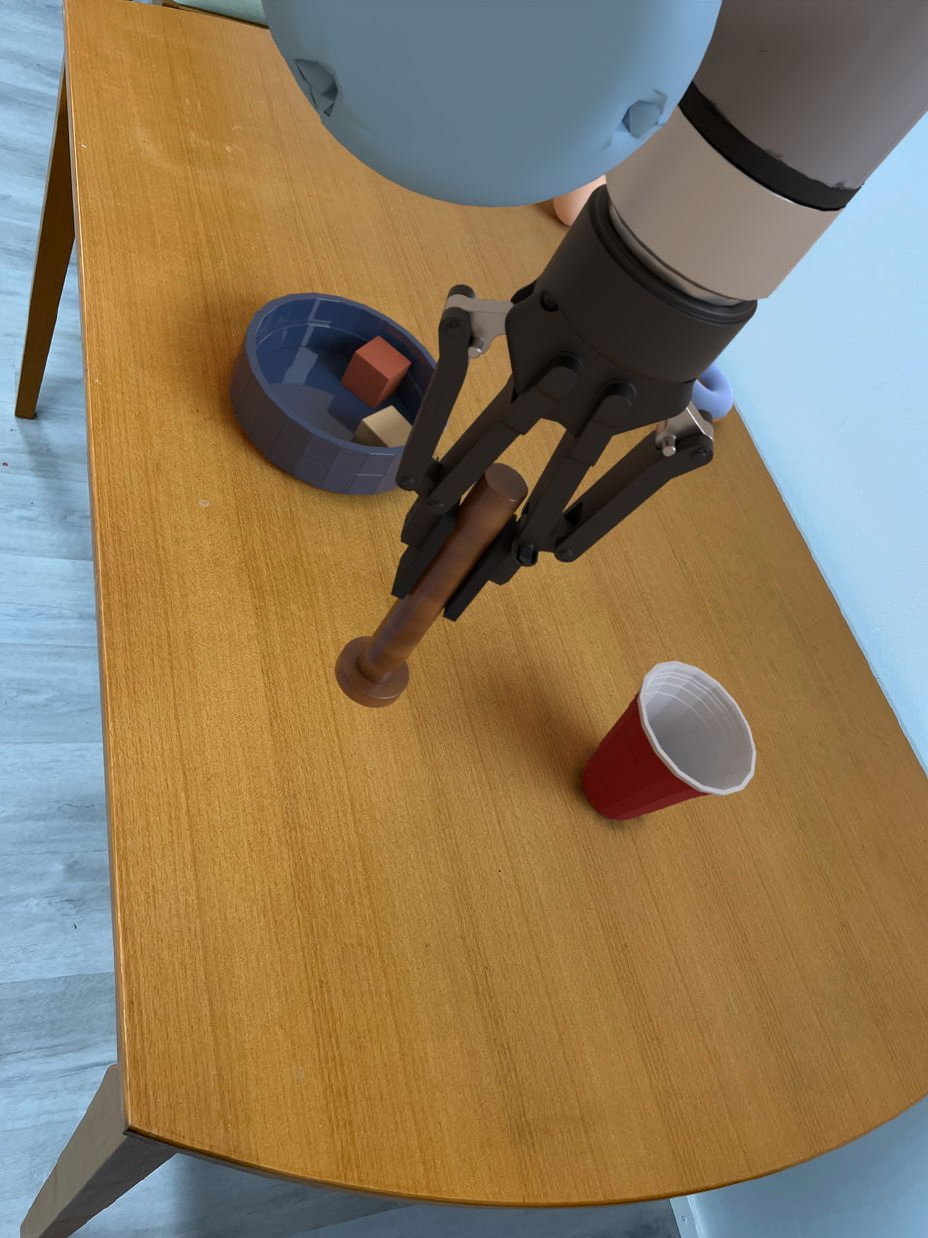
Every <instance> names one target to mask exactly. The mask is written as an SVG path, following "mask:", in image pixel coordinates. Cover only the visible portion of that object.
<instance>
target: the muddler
mask: <svg viewBox="0 0 928 1238" xmlns="http://www.w3.org/2000/svg"><path fill="white" fill-rule="evenodd" d="M528 494H529V486H528V482H527V481H526V479H525V478H524V476H523V475H522V474H521V473H520V472H519V471H518V470H516V469H515V468H514V467H512V466H510V465H509V464H506V463H502V462H494V463H493V464H492V465H491V466H490V467H489V468H488V469H487V470H486V471H485V472H484V473H483V474H482V476H481V477H480V478H479V479H478V480H477V481H476V482H475V483H474V484H473V485H472V486H471V487H470V488H469V490H468V492H467V494H466V496H464V498H463V500H461V502H460V506H459V508H458V515H457V519H456V524H455V528H454V529H453V531H452V532H451V533H450V535H449V536H448V538H447V539H446V540H445V542H444V543H443V545H442V546H441V547H440V549H439V550H438V552H437V553H436V555H435V556H434V557H433V559H432V560H431V562H430V563H429V564H428V566H427V567H426V569H425V570H424V571H423V573H422V574H421V576H420V577H419V578H418V580H417V581H416V583H415V584H414V586H413V587H412V588H411V590H410V591H409V593H408V594H407V595H406V597H405V598H404V600H402V599H400V598H397V597H396V600H395V601H394V602H393V604H392V606H391V607H390V609H389V610H388V611H387V613H386V614H385V615H384V617H383V619H382V620H381V622H380V623H379V625H378V627H377V628H376V629H375V631H374V632H373V634H372V635H362V636H358V637H355V638H352V639H351V640H350V641H348V642H347V643H346V644H345V646H344V647H343V648H342V650H341V651H340V653H339V655H338V656H337V658H336V660H335V663H334V676H335V680H336V682H337V685H338V687H339V688H340V690H341V691H342V692H343V693H344V695H345V696H346V697H347V698H349V699H350V700H351V701H353V702H354V703H356V704H358V705H360V706H363V707H365V708H372V709H380V708H384V707H388V706H391V705H392V704H394V703H395V702H396V701H397V700H398V699H399V698H400V696H401V695H402V694H403V692H404V691H405V690H406V689H407V686H408V684H409V681H410V667H409V664H408V662H407V659H408V658H409V656H410V655H411V654H412V652H413V651H414V649H415V648H416V647H417V646H418V645H419V643H420V642H421V640H422V639H423V637H424V636H425V635H426V634H427V632H428V630H430V628H431V627H432V625H433V624H434V623H435V622H436V620H437V618H438V617H439V616H440V614H441V613H443V611H444V608H445V606H446V605H447V604H448V602H449V601H450V599H451V598H452V597H453V595H454V594H455V593H456V591H457V590H458V589H459V587H460V586H461V585H462V583H463V582H464V581H465V579H466V578H467V577H468V575H469V574H470V572H471V571H472V570H473V568H474V567H475V566H476V564H477V563H478V562H479V560H480V559H481V558H482V556H483V555H484V554H485V552H486V551H487V550H488V548H489V547H490V545H491V544H492V543H493V541H494V540H495V539H496V537H497V536H498V535H499V533H500V532H501V531H502V529H503V528H504V527H505V525H506V524H507V523H508V521H509V520H510V518H511V517H512V516H513V514H516V512H517V510H518V509H519V508H520V507H521V505H522V504H523V502H524V501H525V500H526V498H528Z"/></svg>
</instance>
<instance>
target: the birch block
mask: <svg viewBox="0 0 928 1238" xmlns="http://www.w3.org/2000/svg"><path fill="white" fill-rule="evenodd" d="M411 429H412V426H411V425H410V424H409V423H408V421H407V420H406V419H405V418H404V417H403V416H402V415H401V414H400V413H399V412H398V411H397V410H396V409H395V408H394V407H393V406H392V405H391V406H389V407H387V408H385V409H383V410H381V411H379V412H377V413H374V414H372V415H370V416H368V417H366V418H364V419H362V421H361V423H360V424H359V426H358V428H357V430H356V432H355V434H354V436H353V438H352V440H351V442H353V443H356V444H360V445H364V446H368V447H386V448H393V447H398V446H403V445H405V444H406V442H407V439H408V436H409V434H410V431H411Z"/></svg>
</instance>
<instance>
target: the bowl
mask: <svg viewBox="0 0 928 1238" xmlns="http://www.w3.org/2000/svg"><path fill="white" fill-rule="evenodd" d="M378 335H379V336H380V337H381V338H383V339H384V340H385V341H386V342H387V343H389V344H390V345H391V346H392V347H393V348H395V349H396V350H397V351H398V352H399V353H401V354H402V355H403V356H404V357H405V358H407V359H408V360H409V361H410V362H411V365H410V367H409V368H408V370H407V372H406V374H405V376H404V378H403V379H402V381H401V383H400V385H399V387H398V389H397V391H396V392H395V393H394V394H393V395H391V396H390V397H389V398H388V399H386V400H385V401H384V402H382V403H381V404H380V405H378V406H377V407H376V408H375V409H372V408H371V407H370V406H368V405H367V404H366V403H365V402H364V401H362V400H361V399H360V398H359V397H358V396H356V395H355V394H354V393H353V392H352V391H350V390H349V389H348V388H347V387H345V386H344V385H343V384H342V383H341V380H342V378H343V376H344V374H345V372H346V370H347V368H348V365H349V363H350V361H351V359H352V357H353V355H354V353H355V351H357V350H358V349H359V348H361V347H362V346H364V345H365V344H367V343H368V342H370V341H371V340H373V339H374V338H376V337H377V336H378ZM436 364H437V361H436V360H435V358H434V357H433V355H432V354H431V352H430V351H429V350H428V348H426V346H425V345H424V344H422V343H421V341H419V339H417V337H416V336H414V335H413V334H412V332H410V331H409V330H408V329H406V328H405V327H404V326H402V325H401V324H399V323H398V322H397V321H395V320H393V319H392V318H391V317H390V316H388V315H386V314H384V313H382V312H381V311H378V310H377V309H375V308H373V307H370V306H369V305H367V304H365V303H362V302H359V301H356V300H353V299H349V298H346V297H343V296H341V295H335V294H328V293H320V292H314V291H313V292H310V291H309V292H297V293H295V292H294V293H287V294H286V295H285V294H284V295H282V296H280V297H276V298H273V299H271V300H269V301H268V302H267V303H266V304H264V305H263V306H262V307H261V308H259V309H258V310H257V311H256V312H255V313H254V315H253V317H252V318H251V319H250V322H249V324H248V326H247V328H246V330H245V332H244V336H243V339H242V341H241V344H240V347H239V350H238V352H237V355H236V358H235V361H234V364H233V367H232V369H231V372H230V377H229V390H228V391H229V392H228V394H229V399H230V402H231V406H232V410H233V413H234V416H235V419H236V420H237V422H238V424H239V425H240V427H241V429H242V430H243V432H244V433H245V435H246V437H247V438H248V439H249V441H250V442H251V443H252V444H253V445H254V446H255V447H256V449H257V450H258V451H259V452H260V453H261V454H262V455H263V456H264V457H265V458H266V459H267V460H269V461H270V463H272V464H273V465H275V466H276V467H277V468H279V469H280V470H282V471H283V472H285V473H287V474H288V475H289V476H291V477H292V478H295V479H297V480H299V481H301V482H302V483H305V484H307V485H310V486H311V487H312V486H313V487H314V488H317V489H320V490H324V491H327V492H330V493H331V492H332V493H336V494H340V495H341V494H342V495H350V496H351V495H353V496H361V495H362V496H374V495H379V494H382V493H383V494H384V493H386V492H391V491H392V492H393V491H394V490H396V489H398V488H399V487H398V486H397V484H396V482H395V478H396V474H397V471H398V468H399V464H400V461H401V457H402V454H403V451H404V447H405V445H403V446H398V447H393V448H386V447H368V446H364V445H360V444H356V443H353V442H351V440H352V438H353V436H354V434H355V432H356V430H357V428H358V426H359V424H360V423H361V421H362V419H364V418H366V417H368V416H370V415H372V414H374V413H377V412H379V411H381V410H383V409H385V408H387V407H389V406H391V405H392V406H393V407H394V408H395V409H396V410H397V411H398V412H399V413H400V414H401V415H402V416H403V417H404V418H405V419H406V420H407V421H408V423H409V424H410V425H411V426H413V423H414V421H415V418H416V416H417V413H418V411H419V408H420V405H421V403H422V400H423V398H424V395H425V393H426V390H427V387H428V385H429V382H430V380H431V377H432V375H433V372H434V369H435V367H436ZM449 419H450V418H449ZM449 419H448V421H447V423H446V426H445V428H444V430H443V433H444V432H445V431H446V428H447V427H448V424H449Z"/></svg>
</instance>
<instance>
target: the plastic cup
mask: <svg viewBox="0 0 928 1238" xmlns="http://www.w3.org/2000/svg"><path fill="white" fill-rule="evenodd" d="M756 758H757V750H756V746H755V742H754V737H753V733H752V730H751V727H750V725H749V723H748V721H747V720H746V718H745V715H744V714H743V712H742V709H741V708H740V706H739V704H738V703H737V701H735V699H734V697H732V696H731V694H729V693H728V691H727V690H726V689H725V688H724V687H723V686H722V684H721V683H720V682H719V681H717V680H716V679H715V678H713V677H712V676H711V675H709V674H708V673H706V672H705V671H703V670H702V669H700V668H699V667H698V666H694V665H692V664H689V663H685V662H681V661H678V660H672V661H671V660H670V661H666V662H658V663H656V664H655V665H654V666H653V667H652V668H651V669H650V670H649V671H648V672H647V674H645V675H644V676H643V678H642V679H641V683H640V688H639V689H638V691H637V692H636V694H635V695H634V698H633V699H632V700H631V701H630V702H629V703H628V707H627V708H626V709H625V710H624V712H623V713H622V714H621V715H620V716H619V718H618V719H617V720H616V722H615V723H614V724H613V726H611V728H610V729H609V731H608V732H607V733H606V735H604V737H603V738H602V739H601V741H600V742H599V745H598V747H597V748H596V749H595V750H594V751H593V753H592V754H591V755H590V756H589V757H588V759H587V760H586V762H585V765H584V767H583V771H582V773H581V783H582V790H583V792H584V794H585V796H586V798H587V800H588V802H589V803H590V805H592V807H593V808H594V809H595V810H596V812H597V813H599V814H600V815H602V816H604V817H605V818H607V819H609V820H614V821H621V822H622V821H630V820H632V819H634V818H639V817H641V816H644V815H646V814H651V813H654V812H657V811H660V810H663V809H666V808H670V807H671V806H672V807H673V806H675V805H678V804H680V803H683V802H687V801H688V800H692V799H696V798H701V797H706V796H709V795H711V796H712V795H714V796H719V797H722V796H727V795H730V794H733V793H736V792H740V791H743V790H744V789H745V788H746V787H747V785H748V784H749V782H750V781H751V780H752V778H753V777H754V776H755V767H756V761H757V759H756Z"/></svg>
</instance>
